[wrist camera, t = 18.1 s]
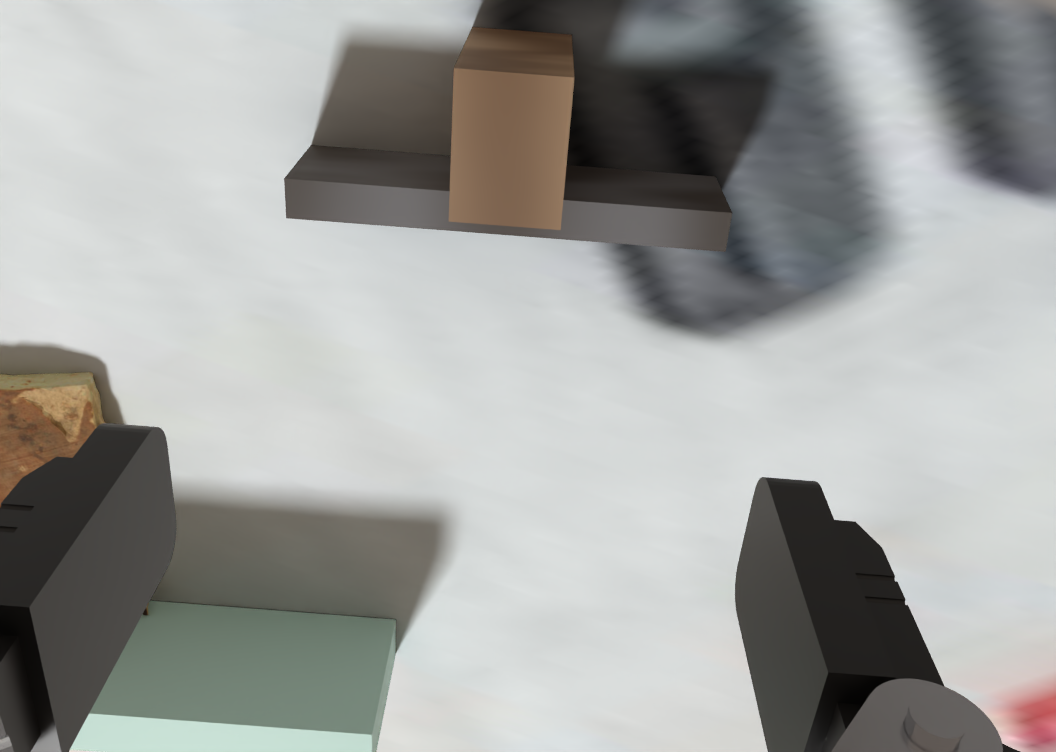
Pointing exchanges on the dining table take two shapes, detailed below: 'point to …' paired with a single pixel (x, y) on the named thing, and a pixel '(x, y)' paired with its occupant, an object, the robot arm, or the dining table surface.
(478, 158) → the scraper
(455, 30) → the dining table surface
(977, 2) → the dining table surface
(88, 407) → the shard
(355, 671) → the stop rail
